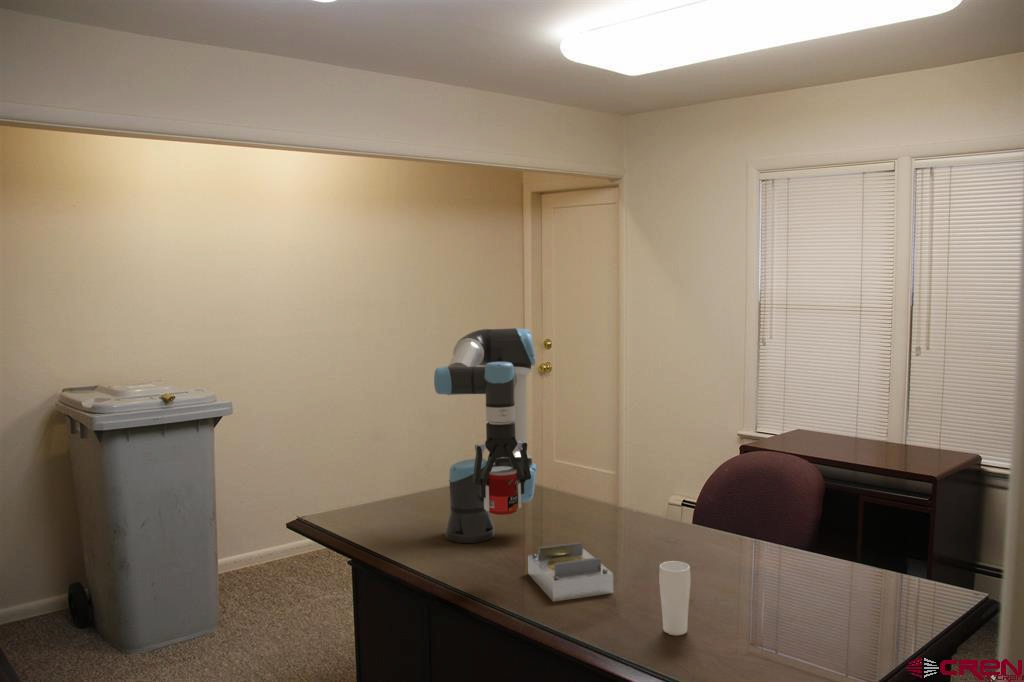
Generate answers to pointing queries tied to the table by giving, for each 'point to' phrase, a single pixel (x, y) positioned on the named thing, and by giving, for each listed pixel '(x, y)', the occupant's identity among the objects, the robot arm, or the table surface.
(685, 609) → the drinking glass
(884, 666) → the table surface
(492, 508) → the canned food
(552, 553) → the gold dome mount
